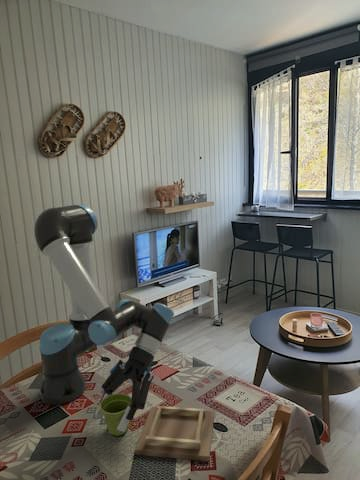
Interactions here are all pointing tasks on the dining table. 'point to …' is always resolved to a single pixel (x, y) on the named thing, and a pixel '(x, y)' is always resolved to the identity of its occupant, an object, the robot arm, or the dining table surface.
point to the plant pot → (115, 411)
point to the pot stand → (177, 433)
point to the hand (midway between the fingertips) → (109, 423)
